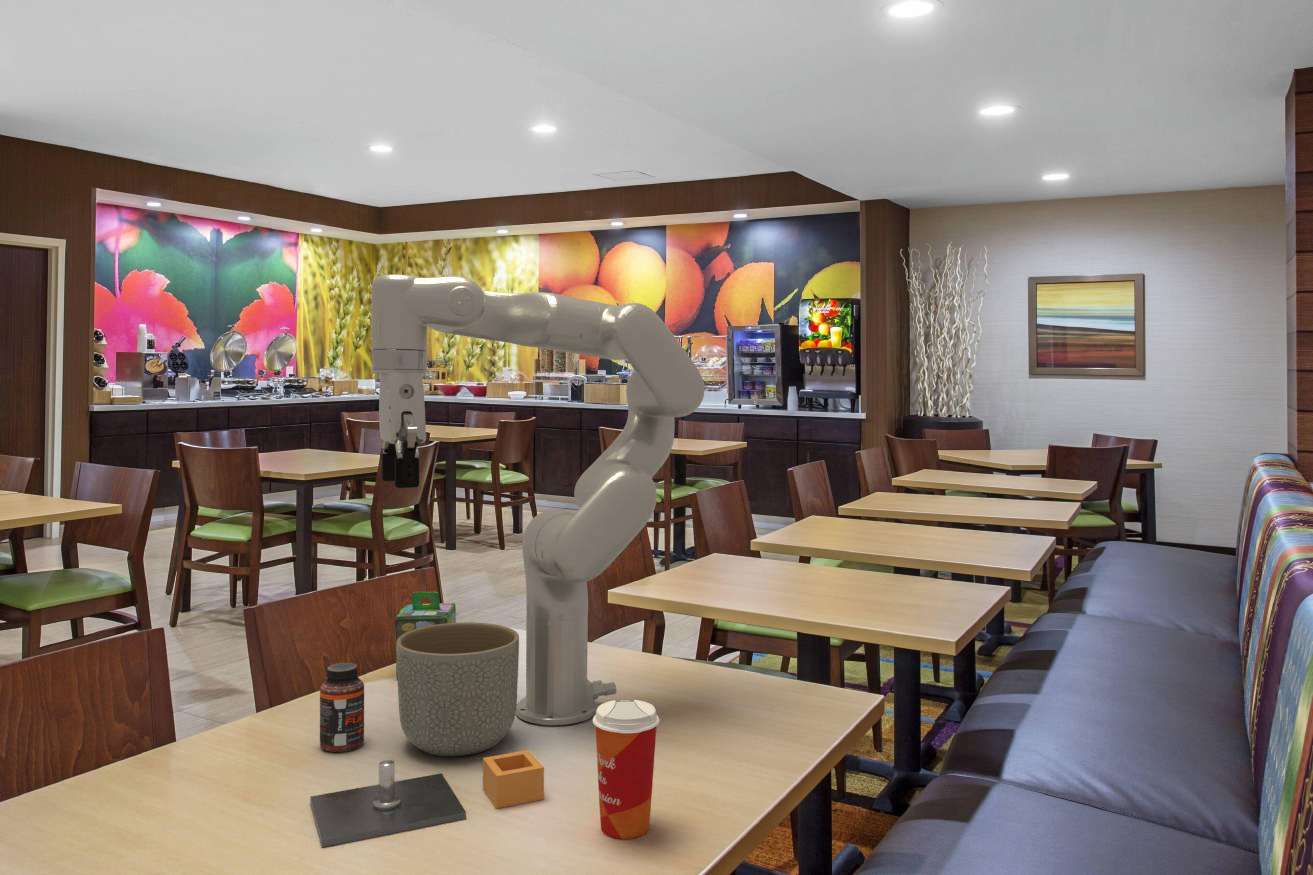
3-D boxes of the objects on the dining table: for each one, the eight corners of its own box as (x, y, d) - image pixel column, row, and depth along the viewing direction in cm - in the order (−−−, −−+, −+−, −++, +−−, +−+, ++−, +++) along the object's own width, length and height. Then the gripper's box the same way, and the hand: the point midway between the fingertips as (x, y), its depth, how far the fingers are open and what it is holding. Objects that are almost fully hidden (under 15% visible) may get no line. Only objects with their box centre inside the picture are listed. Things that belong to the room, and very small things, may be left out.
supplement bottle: (350, 755, 126) (349, 674, 126) (311, 751, 127) (310, 671, 127) (372, 739, 132) (371, 661, 132) (334, 735, 133) (333, 658, 133)
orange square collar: (528, 780, 119) (528, 749, 119) (543, 798, 114) (544, 767, 113) (482, 788, 116) (482, 757, 116) (496, 808, 111) (496, 775, 111)
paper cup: (591, 813, 110) (592, 698, 109) (655, 811, 111) (656, 696, 110) (592, 845, 102) (593, 721, 102) (661, 843, 103) (662, 720, 102)
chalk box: (457, 665, 168) (457, 584, 167) (448, 681, 159) (448, 596, 158) (406, 665, 167) (405, 584, 166) (394, 681, 158) (393, 596, 157)
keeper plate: (441, 779, 119) (441, 735, 119) (465, 818, 108) (465, 770, 108) (310, 802, 112) (309, 756, 112) (322, 847, 101) (321, 795, 101)
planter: (464, 777, 120) (464, 661, 119) (370, 751, 128) (370, 642, 127) (542, 735, 134) (542, 631, 134) (453, 714, 143) (453, 616, 142)
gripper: (440, 363, 124) (440, 489, 125) (413, 365, 140) (414, 477, 141) (383, 361, 121) (384, 491, 122) (362, 364, 137) (363, 479, 137)
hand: (400, 483), depth 131 cm, fingers open, 9 cm apart
